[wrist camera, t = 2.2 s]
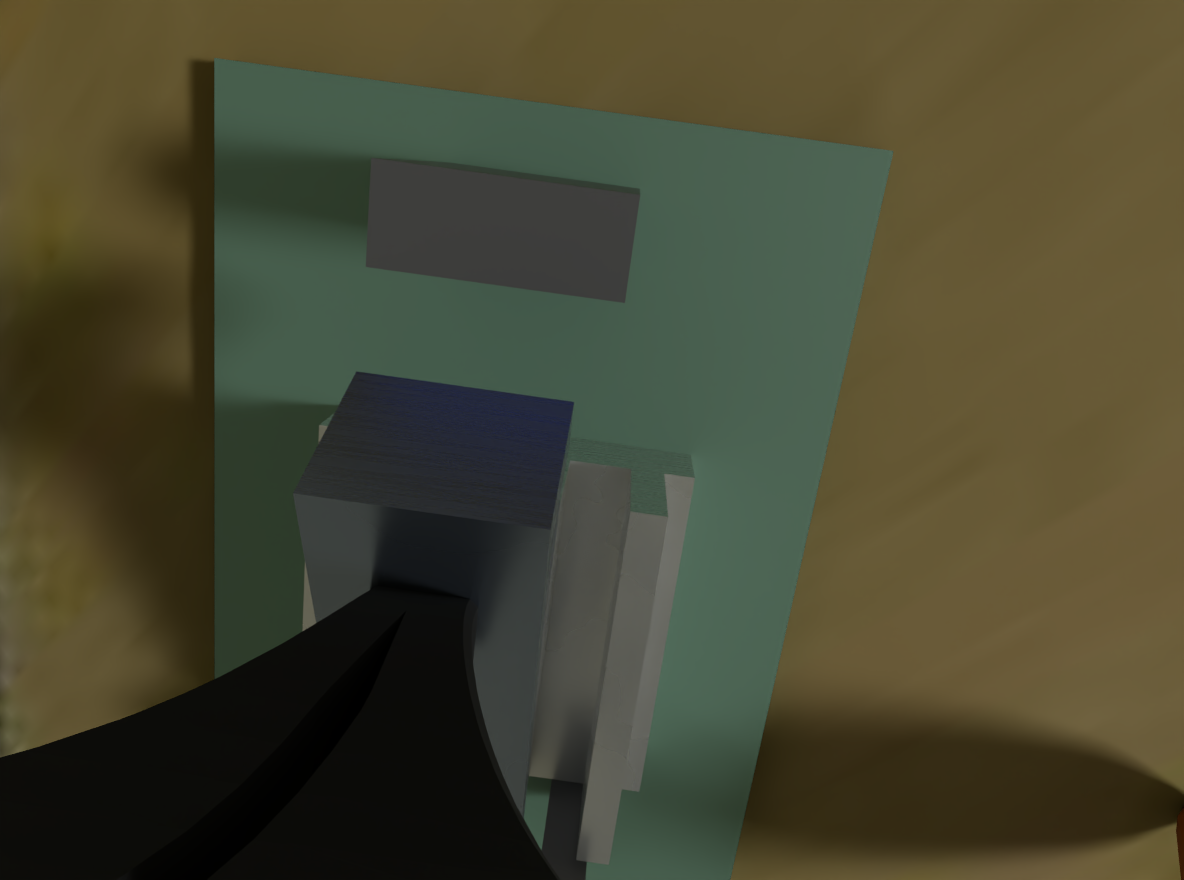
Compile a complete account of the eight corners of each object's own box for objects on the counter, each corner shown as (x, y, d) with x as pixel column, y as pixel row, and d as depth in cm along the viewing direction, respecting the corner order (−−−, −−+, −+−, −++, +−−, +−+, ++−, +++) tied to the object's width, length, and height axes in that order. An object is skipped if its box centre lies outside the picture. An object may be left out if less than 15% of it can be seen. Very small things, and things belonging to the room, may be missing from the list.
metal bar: (527, 826, 20) (507, 954, 18) (399, 807, 20) (364, 933, 18) (574, 402, 12) (547, 549, 10) (356, 371, 12) (283, 511, 10)
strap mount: (588, 797, 23) (572, 990, 17) (368, 765, 23) (285, 948, 17) (682, 194, 18) (701, 203, 13) (407, 156, 18) (310, 149, 13)
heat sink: (638, 748, 22) (639, 869, 18) (329, 704, 22) (265, 814, 18) (690, 454, 20) (703, 521, 16) (343, 405, 20) (273, 461, 16)
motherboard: (718, 895, 24) (721, 918, 24) (228, 823, 24) (214, 844, 24) (882, 151, 18) (893, 151, 18) (231, 62, 18) (214, 58, 18)
